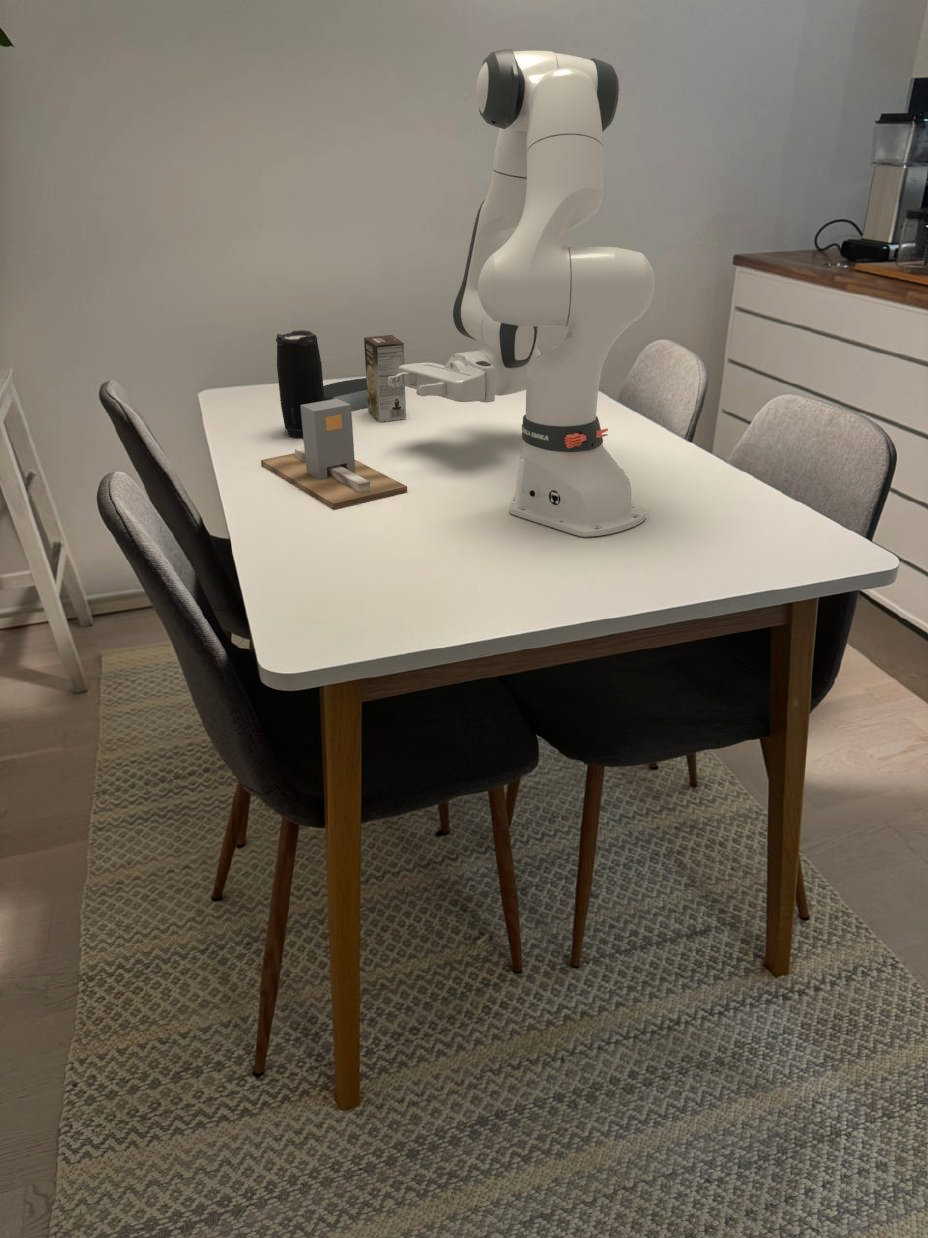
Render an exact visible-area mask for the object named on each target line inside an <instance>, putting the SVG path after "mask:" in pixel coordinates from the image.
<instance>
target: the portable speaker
mask: <svg viewBox="0 0 928 1238" xmlns="http://www.w3.org/2000/svg"><path fill="white" fill-rule="evenodd" d="M275 342H276V369H277V371H276V372H277V380H278V391H279V398H280V408H281V413H282V417H283V419H282V420H283V423H284V429H285V430H286V432H287V434H288V436H289V437H291V438H298V439H299V438H301V439H304V438H303V427H302V417H301V406H300V405H304V404H310V403H315V402H321V401H324V389H323V386H324V378H323V377H324V376H323V366H322V359H321V354H320V353H321V352H320V349H319V344H318V337H317V335H316V334H315V333H313V332H312V331H310V330H304V329H303V330H301V329H300V330H293V331H291V332H288V333H283V334H281V333H277V334H276V338H275Z"/></svg>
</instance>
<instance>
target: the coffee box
mask: <svg viewBox="0 0 928 1238" xmlns="http://www.w3.org/2000/svg"><path fill="white" fill-rule="evenodd" d="M404 344H405V343H404V342H403V341H401V340H399V339H398V338H397V337H395V336H394V335H392V334H388V335H385V334H384V335H375V336H374V335H373V336H367V337H364V338H363V345H364V361H365V362H364V363H365V378H366V383H367V401H368V408H367V411H368V413H369V414H370V415H371V414H372V415H373V416H374V417H373V416H372V415H371V416H372V417H373V418H374V419H375V420H377V421H378V423H385V422H384V421H386V422H392V421H391V420H395V421H401V420H400V419H404V420H407V407H406V386H403V385H401V386H400V387H395V388H394V387H390V386H389V385H388V377H390V376H396V375H398V367H399V366H401V365H405V345H404Z"/></svg>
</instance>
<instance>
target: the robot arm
mask: <svg viewBox="0 0 928 1238" xmlns="http://www.w3.org/2000/svg"><path fill="white" fill-rule="evenodd" d="M617 74H618V73H617V72H616V70H615V68H614V66H613V65H612V64H610V63H608V62H606V61H603V60H600V59H598V58H594V57H592V58H590V59H588V58H584V57H580V56H575V55H571V54H565V53H559V52H554V51H550V50H516V51H514V50H513V49H511V48H506V49H505V48H504V49H499V50H495V51H491V52H489V54H488V55H487V56H486V57H485V59H484V60H483V61H482V65H481V69H480V70H479V74H478V75H477V81H476V88H475V90H476V91H475V93H476V101H477V105H478V112H479V114H480V116H481V118H482V119H483V120H484V122H485V123H486V124H487V125H491V126H493V127H496V128H499V130H498V135H497V140H496V145H495V151H494V157H493V166H492V172H491V173H492V174H491V178H490V179H491V181H490V186H489V188H488V189H489V190H488V191H487V195H486V198H484V200H483V201H482V203H481V204H480V206H479V208H478V211H477V214H476V216H475V219H474V220H475V221H474V226H473V229H472V234H471V239H470V244H469V249H468V254H467V260H466V264H465V269H464V274H463V278H462V283H461V285H460V288H459V291H458V293H457V295H456V297H455V300H454V304H453V308H452V309H453V310H452V318H453V319H452V320H453V323H454V325H455V328H456V330H457V331H458V333H459V334H461V335H462V336H464V337H466V338H468V339H472V340H475V341H476V342H477V341H478V342H479V343H481V344H482V345H481V348H480V349H479V350H474V351H465V352H458V353H454V354H452V356H450V357H449V360H448V361H447V362H446V363H445V364H440V363H436V362H418V363H417V362H416V363H407V364H406V363H404V365H401V366H399V367H398V375H396V376H390V377H388V385H389V386H390V387H394V388H395V387H400V386H401V385H403V386H405V388H406V387H407V388H410V389H413V390H416V391H415V393H416V395H418V396H419V397H429V396H431V397H433V396H434V397H439V398H443V399H447V400H451V401H453V402H457V403H458V402H459V403H469V402H470V403H471V402H481V403H485V404H486V403H492V402H495V399H496V396H497V397H498V396H501V397H502V396H507V395H512V394H517V393H520V392H524V391H526V392H525V413H524V415H523V416H522V424H521V439H522V440H523V443H524V444H523V447H522V448H523V449H522V451H521V456H520V458H519V461H518V468H517V476H516V482H515V483H516V484H515V492H514V495H513V496H514V497H513V500H512V501H513V502H512V503H511V505H510V507H509V508H510V509H509V513H510V514H511V515H513V516H516V517H519V518H522V519H525V520H529V521H532V522H535V523H538V524H541V525H544V526H547V527H549V528H553V529H556V530H559V531H562V532H565V533H568V534H572V535H574V536H578V537H582V538H584V537H585V538H586V537H598V536H599V537H600V536H606V535H612V534H615V533H618V532H622V531H625V530H629V529H630V528H634V527H636V526H638V525H640V524H641V523H643V522H644V521H645V520H646V518H647V514H646V513H647V512H646V511H645V510H643V508H640V507H639V506H637V505H635V504H634V503H632V499H633V498H632V487H631V481H630V478H629V477H628V475H626V473H625V471H624V469H623V468H621V467H620V466H619V465H618V463H617V462H616V460H615V459H614V458H613V457H612V455H611V454H610V453H609V451H608V450H607V449H606V447H605V446H604V444H603V443H604V439H603V438H605V437H607V436H609V435H608V434H607V433H606V432H608V431H609V428H603V429H601V425H600V419H599V417H598V416H597V410H598V409H597V408H598V398H599V397H598V396H599V388H600V382H601V374H602V370H603V366H604V363H605V361H606V358H607V357H608V354H609V352H610V350H611V349H612V346H613V345H614V343H616V341H617V340H618V338H619V337H620V336H621V335H622V333H623V332H624V331H626V329H628V328H629V327H630V326H631V325H632V324H634V323H636V321H638V320H639V319H641V318H642V317H643V316H644V314H645V313H646V312H647V311H648V309H649V307H650V305H651V303H652V300H653V298H654V294H655V290H656V281H655V274H654V269H653V267H652V264H651V263H650V261H649V260H648V258H647V257H646V256H645V255H644V254H643V253H642V252H640V251H636V250H633V249H631V250H630V249H627V248H620V247H615V246H568V245H567V246H565V245H563V244H562V241H561V240H562V237H563V236H564V235H565V234H567V233H568V232H570V231H572V230H574V229H575V228H577V227H579V226H581V225H583V224H584V223H587V221H589V220H591V218H593V217H594V216H595V215H596V214H597V213H598V211H599V210H600V207H601V205H602V203H603V199H604V146H603V145H604V143H603V139H604V138H603V132H604V131H606V130H607V129H608V128H609V127H610V125H612V122H613V121H614V119H615V116H616V111H617V109H618V106H619V105H618V104H619V98H620V97H619V95H620V90H619V89H620V88H619V87H620V84H619V76H618V75H617ZM510 235H511V236H510ZM509 236H510V238H509V239H508V240H507V238H508V237H509ZM539 327H565V328H568V331H567V334H566V335H565V337H564V338H563V340H562V341H561V342H560V343H559V344H557V345H556V346H554V347H552V348H550V349H548V350H545V351H544V352H542V353H541V351H540V350H539V349H538V345H537V344H538V343H537V336H538V329H539ZM603 433H604V434H603ZM605 433H606V434H605Z"/></svg>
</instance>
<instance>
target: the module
mask: <svg viewBox="0 0 928 1238" xmlns="http://www.w3.org/2000/svg"><path fill="white" fill-rule="evenodd" d="M300 406H301V417H302V427H303V438H302V439H303V447H304V449H305V460H306V471H307V473H308V474H310V475H311V476H313V477H315V478H317V479H318V480H324V479H328V477H327V467H331V466H336V465H340V466H341V467H343V468H345V469H347V470H349V471H351V472H353V473H355V460H356V459H355V445H354V443H355V442H354V432H353V429H354V428H353V417H352V415H353V414H352V412H353V411H351V405H350V404H348V403H346V402H343V401H341V400H339V399H333V400H327V401H321V402H315V403H310V404H304V405H300Z"/></svg>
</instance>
